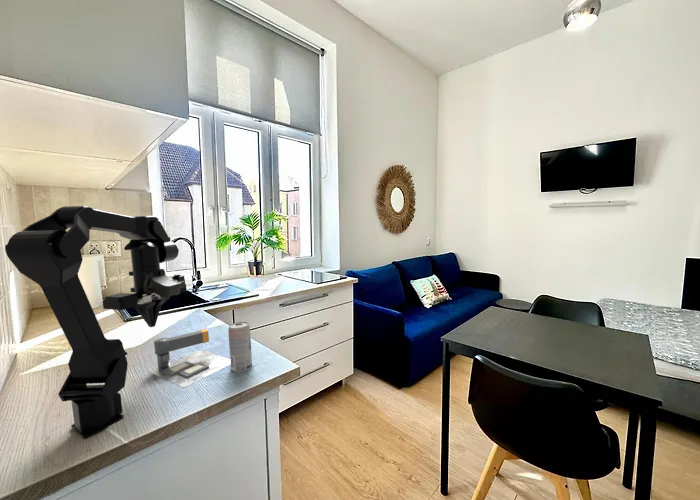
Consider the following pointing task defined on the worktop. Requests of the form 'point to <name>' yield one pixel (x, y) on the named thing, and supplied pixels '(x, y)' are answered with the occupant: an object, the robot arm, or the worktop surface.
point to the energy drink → (240, 346)
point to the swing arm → (180, 341)
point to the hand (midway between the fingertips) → (152, 326)
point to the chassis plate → (195, 358)
